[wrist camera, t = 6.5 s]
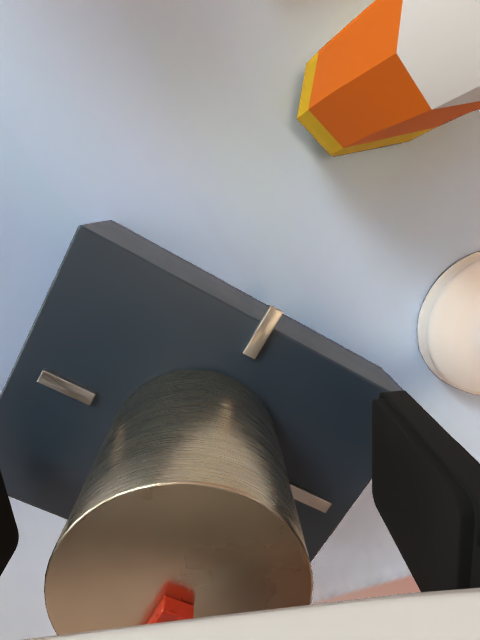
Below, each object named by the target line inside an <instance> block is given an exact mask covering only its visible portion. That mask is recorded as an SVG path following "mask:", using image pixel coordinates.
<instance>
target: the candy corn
mask: <svg viewBox="0 0 480 640" xmlns="http://www.w3.org/2000/svg"><path fill="white" fill-rule="evenodd" d="M478 109H480V0H375V1H374V2H373V3H372V4H371V5H370V6H369V7H367V8H366V9H365V10H364V11H363V12H362V13H361V14H359V15H358V16H357V17H356V18H355V19H354V20H353V21H351V22H350V23H349V24H348V25H347V26H346V27H345V28H343V29H342V30H341V31H340V32H339V33H338V34H337V35H336V36H335V37H333V38H332V39H331V40H330V41H329V42H328V43H327V44H326V45H325V46H324V47H322V48H321V49H320V50H319V51H318V52H317V53H316V54H315V55H314V56H313V57H312V58H311V59H310V60H309V61H308V63H307V64H306V69H305V75H304V81H303V87H302V93H301V98H300V104H299V110H298V116H297V119H298V120H299V121H300V123H301V124H302V125H303V126H304V127H305V128H306V129H307V130H308V131H309V132H310V133H311V135H312V136H313V137H314V138H315V139H316V140H317V141H318V142H319V143H320V144H321V146H322V147H323V148H324V149H325V150H326V151H327V152H328V153H329V154H330V155H331V156H333V157H335V156H339V155H344V154H349V153H354V152H359V151H364V150H369V149H374V148H378V147H383V146H388V145H393V144H398V143H403V142H408V141H410V140H412V139H414V138H416V137H418V136H420V135H422V134H424V133H426V132H428V131H430V130H432V129H434V128H436V127H438V126H440V125H443V124H445V123H447V122H449V121H451V120H453V119H456V118H458V117H460V116H462V115H464V114H467V113H469V112H472V111H475V110H478Z"/></svg>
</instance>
